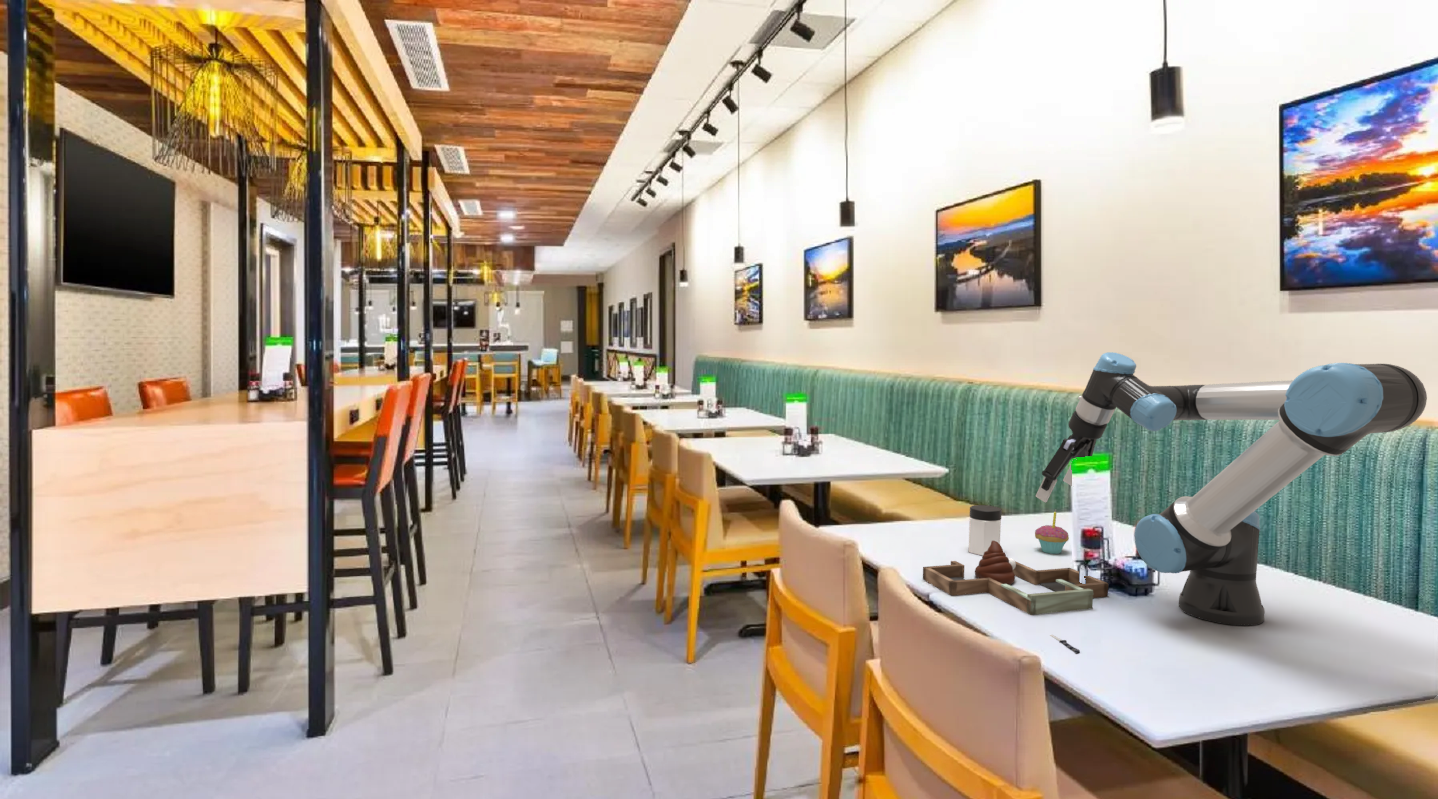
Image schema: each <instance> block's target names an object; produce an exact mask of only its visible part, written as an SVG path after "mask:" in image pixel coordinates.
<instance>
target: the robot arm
mask: <svg viewBox="0 0 1438 799" xmlns="http://www.w3.org/2000/svg"><path fill="white" fill-rule="evenodd" d="M1136 368H1137V364H1136V362H1135V361H1134V360H1133V359H1132V358H1131V357H1129V356H1127V355H1124V354H1121V353H1119V352H1118V353H1117V352H1104V353H1102V354H1101V355H1100V357H1099V359H1098V361H1097V363H1096V364H1095V366H1094V367H1093V369H1092V372H1091V374H1090V375H1089V376H1090V377H1089V379H1088V381H1087V383H1086V386H1085V389H1084V390H1083V392H1082V394H1081V395H1079V396H1078V397H1077V399H1078V400H1079V401H1078V402H1077V405H1076V407H1075V411H1073V412H1072V415H1071V417H1070V419H1069V421H1068V428H1069V429H1070V430H1071V432H1072V434H1071V435H1069V436H1068V437H1067V438H1064V439H1063V440H1062V441H1061V443H1060V446H1059V447H1058V449H1057V451H1056V452H1055V453H1054V455H1053V457H1052V458H1050V461H1049V463H1048V464H1047V465H1046V467H1045V468H1044V470H1042V471H1041V475H1042V476H1043V480H1042V481H1041V484H1040V485H1039V487H1038V490H1037V492H1036V494H1035V497H1036V498H1037V499H1039V500H1040V501H1042V502H1043V503H1047V502H1048V500H1049V498H1050V496H1051V495H1052V492H1053V490H1054V488H1055V486H1056V484H1057V482H1058V479H1057V478H1058V477H1059V476H1060V474H1061V473H1062V472H1063V470H1064V469H1065V468H1066V467H1067V465H1068V464H1069V463H1070V462H1071V460H1073V459H1077V458H1076V457H1085V456H1092V457H1093V456H1094V455H1093V454H1094V450H1095V447H1096V443H1097V440H1099V439H1101V438H1102V437H1103V434H1104V432H1105V431H1106V428H1107V427H1108V424H1109V423H1110V421H1111V419H1112V417H1113V415H1114V412H1115V410H1116V408H1117V409H1118V410H1119V411H1121V412H1122V413H1124V415H1126V416H1127V417H1129V418H1130V419H1131V420H1132V421H1133V422H1134V423H1136V424H1137V425H1139V426H1142V427H1143V428H1145V429H1146V430H1147V431H1151V432H1157V431H1160V430H1161V429H1165V428H1166V427H1168V426H1169V425H1170V424H1171V423H1172V422H1173V421H1208V420H1211V421H1212V420H1213V421H1218V420H1219V421H1224V420H1225V421H1227V420H1228V421H1231V420H1232V421H1237V420H1238V421H1241V420H1243V421H1246V420H1247V421H1248V420H1250V421H1251V420H1252V421H1255V420H1256V421H1263V420H1264V421H1265V420H1266V421H1273V420H1274V421H1277V420H1278V421H1277V422H1276V423H1275V424H1273V425H1272V426H1271V427H1270V428H1269V429H1268V430H1267V431H1266V432H1264V433H1263V435H1261V436H1260V437H1259V438H1258V439H1257V440H1255V441H1254V442H1253V443H1251V445H1250V446H1249V447H1247V448H1246V449H1245V450H1244V451H1243V452H1242V453H1241V454H1239V456H1237V457H1236V458H1235V459H1234V460H1233V461H1231V463H1229V464H1228V465H1227V466H1226V467H1224V469H1222V471H1220V472H1219V473H1218V474H1217V475H1215V477H1213V478H1212V479H1211V480H1210V481H1209V482H1208V483H1207V484H1205V485H1204V486H1203V487H1202V488H1201V489H1200V490H1198V491H1197V492H1196V493H1195V494H1194V495H1193V496H1188V495H1187V496H1185V495H1184V496H1180V497H1178V498H1176V500H1175V501H1174V502H1172V503H1171V504H1169V506H1167V507H1166V508H1165V509H1164V510H1163V511H1161V512H1160V513H1151V514H1149V515H1146V516H1143V517H1142V518H1141V519H1140V520H1139V521H1138V522H1137V524H1136V526H1135V529H1134V534H1133V535H1134V539H1135V541H1134V545H1135V548H1136V550H1137V552H1138V555H1139V557H1140V558H1141V559H1142V561H1143V562H1144V564H1146V565H1147V566H1148V567H1149V568H1151V570H1154V571H1156V572H1158V573H1161V574H1162V573H1163V574H1180V573H1181V572H1182V573H1183V572H1188V571H1189V574H1188V576H1187V578H1186V580H1185V582H1184V586H1183V588H1182V591H1181V592H1180V593H1179V596H1178V608H1179V610H1181V611H1182V612H1184V613H1185V614H1188V615H1190V616H1192V617H1195V618H1197V619H1201V620H1205V621H1208V622H1212V623H1213V622H1214V623H1217V624H1223V625H1230V626H1231V625H1233V626H1256V625H1260V624H1263V623H1264V621H1265V608H1264V605H1263V604H1262V599H1261V596H1260V591H1259V588H1258V584H1257V571H1258V556H1259V542H1260V541H1259V540H1260V532H1261V528H1260V527H1261V526H1260V514H1258V513H1257V511H1256V510H1258V509H1259V508H1260V507H1261V506H1263V505H1264V504H1265V503H1266V502H1268V501H1269V500H1270V499H1272V498H1273V497H1274V496H1275V495H1276V494H1278V493H1279V492H1280V491H1281V490H1283V489H1284V488H1286V486H1288V485H1289V484H1290V483H1291V482H1293V481H1294V480H1295V479H1296V478H1297V477H1299V476H1301V474H1303V473H1304V472H1305V471H1306V470H1308V469H1309V468H1310V467H1312V466H1313V465H1314V464H1315V463H1316V462H1318V461H1319V460H1321V458H1323V457H1324V456H1333V457H1338V456H1342V455H1343V454H1344V453H1346V452H1348V450H1349V449H1351V448H1352V447H1354V446H1355V445H1357V443H1359V442H1361V440H1363V438H1365V437H1366V436H1368V435H1370V434H1379V433H1381V434H1382V433H1392V432H1395V431H1399V430H1402V429H1405V428H1406V427H1408V426H1410V425H1412V424H1413V423H1415V422H1416V421H1417V420H1418V419H1419V418H1420V417H1421V416H1422V414H1423V412H1424V411H1425V408H1426V406H1427V400H1428V396H1427V394H1428V393H1427V391H1426V388H1425V385H1424V383H1423V382H1422V380H1421V379H1419V377H1418V376H1417V375H1416V374H1415V373H1413V372H1412V371H1410V370H1408V369H1406V368H1404V367H1401V366H1399V365H1396V364H1391V363H1390V364H1389V363H1358V364H1357V363H1348V362H1334V363H1331V362H1330V363H1327V364H1322V365H1318V366H1315V367H1312V368H1309V369H1306V370H1305V371H1303V372H1302V373H1300V374H1299V375H1298V376H1296V377H1295V378H1294V379H1293V380H1292V379H1291V380H1276V381H1275V380H1274V381H1273V380H1271V381H1255V382H1254V381H1253V382H1251V381H1250V382H1236V383H1235V382H1230V383H1212V384H1211V383H1210V384H1188V385H1187V384H1186V385H1149V384H1147V383H1146V382H1144V381H1143V380H1141V379H1139V378H1138V377H1137V376H1135V373H1136ZM1062 481H1063V482H1064V483H1066V484H1067V485H1069V486H1071V487H1072V470H1071V464H1070V465H1069V466H1068V468H1067V471H1066V473H1065V474H1064V477H1063V479H1062Z"/></svg>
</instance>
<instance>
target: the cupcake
mask: <svg viewBox="0 0 1438 799" xmlns="http://www.w3.org/2000/svg"><path fill="white" fill-rule="evenodd" d="M1056 519H1057V509H1055V510H1054V511H1053V516H1052V524H1050V525H1049V524H1046V525H1042V526H1040V527H1038V528H1037V529H1035V531H1034V537H1035V539H1037V540H1038V542H1039V544H1040V547H1041V548H1040V549H1041V551H1042V552H1043V553H1045V554H1052V555H1059V554H1062V550H1063V549H1064V546H1065V544H1066V543H1067V542H1069V540H1070V539H1069V538H1070V537H1069V533H1068V532H1067V530H1066V529H1063V527H1060V526H1056Z"/></svg>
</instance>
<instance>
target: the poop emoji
mask: <svg viewBox="0 0 1438 799" xmlns="http://www.w3.org/2000/svg"><path fill="white" fill-rule="evenodd" d="M1008 558H1009V557H1007V554H1006V553H1005V552H1004V549H1003V547H1002V545H1001V543H1000V544H999V543H998V542H996V541H992V542H991V545H990V547H989V548H988V550H987V551H986V552H984V555H983V556H982V555H981V559H980V560H979V561H978V565H977V566H976V567H975V569H974V576H975V578H976V579H979V578H991V579H993V580H995V581H998V582H1000V583H1002V584H1008V585H1010V586H1011V585H1012V584H1014V582H1015V580H1016V576H1015V575H1014V572H1013V569H1014V568H1015V567H1016V562H1017V561H1016V560H1015V559H1013V558H1012V557H1010V558H1009V559H1008ZM1015 561H1016V562H1015Z"/></svg>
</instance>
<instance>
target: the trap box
mask: <svg viewBox="0 0 1438 799" xmlns="http://www.w3.org/2000/svg"><path fill="white" fill-rule="evenodd" d="M1008 559H1009V557H1008ZM1014 561H1015V562H1016V567H1015V568H1014V569H1013V572H1014V575H1015V577H1017V578H1019V579H1021V580H1024V581H1026V582H1027V583H1030V584H1032V585H1033V586H1042V587H1043V588H1047V589H1049V590H1051V591H1049V592H1048V591H1047V592H1040V593H1036V592H1035V593H1026V592H1024V591H1021V590H1020V589H1019V588H1016V587H1014V586H1013V585H1011V584H1010V585H1008V584H1002V583H1000V582H998V581H995V580H993V579H991V578H971V579H969V578H968V579H965V565H964V564H963V563H960V562H959V561H957V560H951V561H950V564H946V565H932V566H923V567H922V580H923V581H925V582H926V583H929V584H930V585H931V586H934V587H935V588H936V589H939V590H940V591H943V592H945V593H946V594H948V595H949V596H951V597H952V596H953V597H954V596H955V597H956V596H963V595H975V594H976V595H977V594H986V593H987V594H990V596H994V597H996V598H997V599H999V600H1001V601H1002V602H1004V603H1007V604H1008V605H1011V606H1013V607H1015V608H1017V609H1018V610H1020V611H1022V612H1023V613H1026V614H1028V615H1030V616H1032V615H1033V616H1034V615H1045V614H1053V613H1062V612H1073V611H1082V610H1091V609H1092V610H1093V603H1094V601H1093V600H1094V599H1096V598H1106V597H1107V598H1108V597H1109V585H1110V584H1109V583H1108V582H1106V581H1103V580H1101V579H1099V578H1096V577H1094V576H1091V575H1089V576H1084V578H1086V579H1085V580H1086V584H1082V583H1080V582H1079V572H1080V571H1079V570H1076V569H1073V568H1072V567H1065V568H1064V567H1062V568H1051V569H1041V570H1039V569H1037V570H1036V569H1035V568H1031V567H1029V566H1027V565H1026V564H1025V565H1024V564H1022V563H1020V562H1018V561H1016V560H1014Z"/></svg>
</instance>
